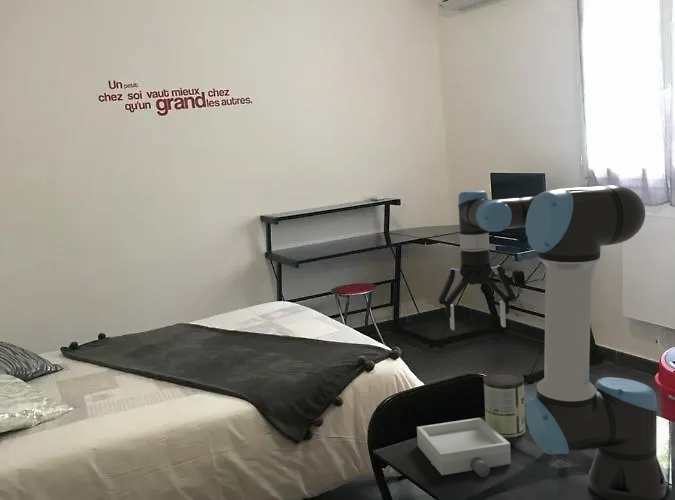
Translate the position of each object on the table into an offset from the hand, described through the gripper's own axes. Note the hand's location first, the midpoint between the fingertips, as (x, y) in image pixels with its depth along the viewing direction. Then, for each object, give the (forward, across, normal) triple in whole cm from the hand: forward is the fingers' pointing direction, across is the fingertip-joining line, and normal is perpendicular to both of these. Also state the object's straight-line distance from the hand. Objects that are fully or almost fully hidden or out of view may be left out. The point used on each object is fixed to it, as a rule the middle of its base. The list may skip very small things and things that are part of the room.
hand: (477, 327), depth 186 cm
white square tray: (+26, +8, +24) cm, 36 cm away
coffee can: (+26, -5, +8) cm, 27 cm away
